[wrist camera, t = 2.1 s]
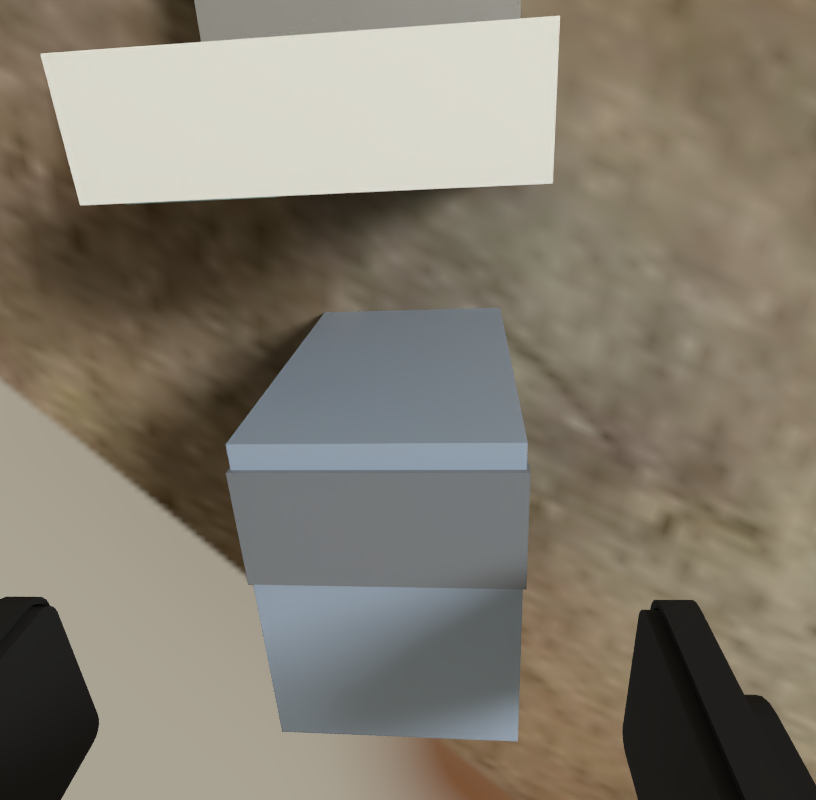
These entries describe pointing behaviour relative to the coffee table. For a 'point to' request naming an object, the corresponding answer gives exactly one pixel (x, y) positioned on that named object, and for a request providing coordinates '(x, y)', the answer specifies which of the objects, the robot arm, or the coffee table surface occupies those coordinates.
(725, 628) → the coffee table surface
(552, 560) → the coffee table surface
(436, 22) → the rail
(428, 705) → the block
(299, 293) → the coffee table surface
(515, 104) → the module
